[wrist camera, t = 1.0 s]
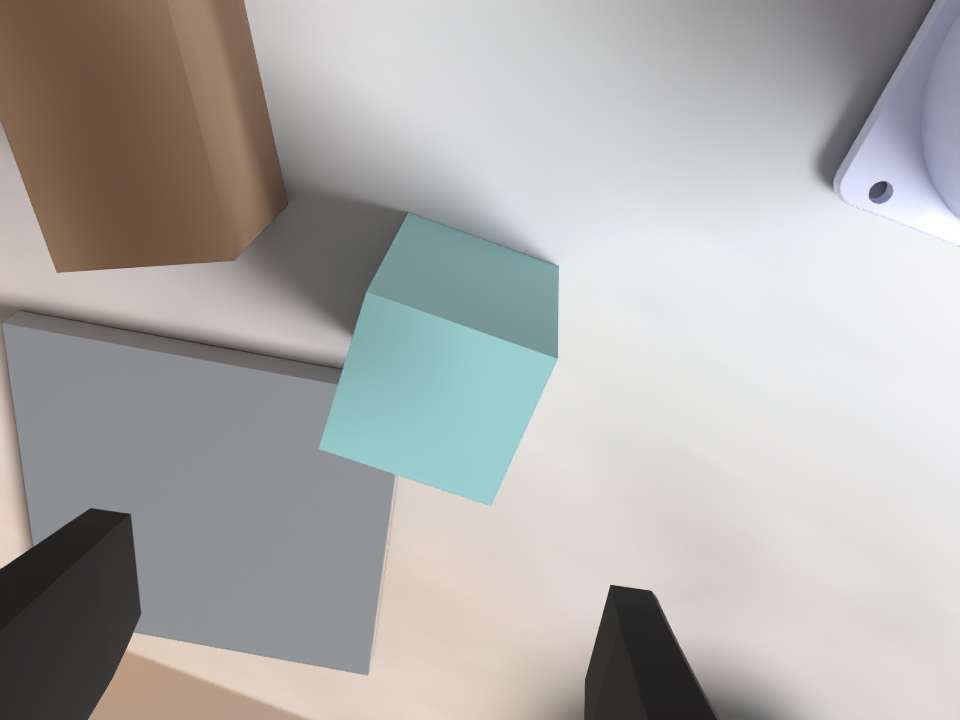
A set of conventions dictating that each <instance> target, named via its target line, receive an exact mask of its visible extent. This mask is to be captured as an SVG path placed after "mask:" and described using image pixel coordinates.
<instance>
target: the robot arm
mask: <svg viewBox="0 0 960 720" xmlns="http://www.w3.org/2000/svg"><path fill="white" fill-rule="evenodd" d="M880 181H886V182H887V189H886V192H885V193H884V194H883V195H882V196H881V197H878V198H876V199H871V198H869V195H868V194H869V191H870V188H871V187H872V186H873V185H874V184H875V183H878V182H880ZM833 184H834V191H835V192H836V194H837V196H838V197H839V198H840V199H841V200H842V201H844V202H845V203H847V204H848V205H851V206H854V207H856V208H859V209H862V210H864V211H867V212H870V213H872V214H875V215H877V216H880V217H883V218H885V219H888V220H891V221H893V222H896V223H898V224H901V225H904V226H906V227H909V228H912V229H914V230H917V231H920V232H922V233H925V234H927V235H930V236H933V237H935V238H938V239H941V240H943V241H946V242H949V243H951V244H954V245H956V246H959V247H960V0H935V2H934V4H933V6H932V7H931V9H930V11H929V13H928V14H927V16H926V18H925V20H924V21H923V23H922V25H921V27H920V28H919V30H918V32H917V34H916V35H915V37H914V39H913V40H912V42H911V44H910V46H909V47H908V49H907V51H906V53H905V54H904V56H903V58H902V60H901V61H900V63H899V65H898V67H897V68H896V70H895V72H894V74H893V75H892V77H891V79H890V81H889V82H888V84H887V86H886V87H885V89H884V91H883V93H882V94H881V96H880V98H879V100H878V101H877V103H876V105H875V107H874V108H873V110H872V112H871V114H870V115H869V117H868V119H867V121H866V122H865V124H864V126H863V127H862V129H861V131H860V133H859V134H858V136H857V138H856V140H855V141H854V143H853V145H852V147H851V148H850V150H849V152H848V154H847V155H846V157H845V159H844V161H843V162H842V164H841V166H840V167H839V169H838V171H837V173H836V175H835V178H834V181H833ZM140 616H141V606H140V596H139V586H138V577H137V567H136V558H135V548H134V539H133V529H132V520H131V514H128V513H121V512H115V511H108V510H101V509H94V508H90V509H89V510H87V511H85V512H84V513H82V514H81V515H79V516H78V517H76V518H75V519H73V520H72V521H70V522H69V523H67V524H66V525H64V526H63V527H62V528H60V529H59V530H57V531H56V532H54V533H53V534H51V535H50V536H48V537H47V538H46V539H44V540H43V541H41V542H40V543H38V544H37V545H35V546H34V547H32V548H31V549H29V550H28V551H27V552H25V553H24V554H22V555H21V556H19V557H18V558H16V559H15V560H13V561H12V562H10V563H9V564H7V565H6V566H4V567H3V568H1V569H0V720H88V718H89V717H90V715H91V713H92V712H93V710H94V708H95V707H96V705H97V703H98V702H99V700H100V698H101V697H102V695H103V693H104V692H105V690H106V688H107V687H108V685H109V683H110V681H111V680H112V678H113V676H114V674H115V671H116V670H117V667H118V665H119V663H120V661H121V658H122V656H123V655H124V652H125V650H126V648H127V646H128V644H129V641H130V639H131V637H132V634H133V632H134V630H135V627H136V625H137V623H138V621H139V618H140ZM584 720H720V719H719V717H718V716H717V714H716V712H715V710H714V709H713V707H712V705H711V703H710V702H709V700H708V698H707V696H706V695H705V693H704V691H703V689H702V688H701V686H700V684H699V682H698V680H697V678H696V676H695V675H694V673H693V671H692V669H691V667H690V665H689V663H688V661H687V659H686V657H685V655H684V653H683V651H682V650H681V648H680V646H679V644H678V642H677V640H676V638H675V635H674V633H673V631H672V629H671V627H670V625H669V623H668V621H667V619H666V617H665V615H664V612H663V610H662V608H661V606H660V604H659V601H658V599H657V597H656V596H655V595H654V593H653V592H652V591H649V590H642V589H635V588H629V587H622V586H615V585H610V589H609V592H608V596H607V600H606V604H605V607H604V611H603V615H602V619H601V622H600V626H599V630H598V634H597V637H596V641H595V645H594V649H593V652H592V656H591V660H590V664H589V667H588V671H587V675H586V679H585V711H584Z"/></svg>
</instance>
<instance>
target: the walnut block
mask: <svg viewBox="0 0 960 720" xmlns="http://www.w3.org/2000/svg"><path fill="white" fill-rule="evenodd" d="M0 120H1V122H2V125H3V128H4V130H5V133H6V136H7V139H8V141H9V144H10V147H11V149H12V152H13V155H14V158H15V160H16V163H17V166H18V168H19V171H20V174H21V177H22V179H23V182H24V185H25V187H26V190H27V193H28V196H29V198H30V201H31V204H32V206H33V209H34V212H35V214H36V217H37V220H38V223H39V225H40V228H41V231H42V233H43V236H44V239H45V242H46V244H47V247H48V250H49V252H50V255H51V258H52V261H53V263H54V266H55V269H56V271H57V273H60V272H75V271H89V270H104V269H119V268H134V267H148V266H163V265H178V264H192V263H207V262H222V261H234V260H235V259H236V258H237V257H238V256H239V255H240V254H241V253H242V252H243V251H244V250H245V249H246V248H247V247H248V246H249V245H250V244H251V243H252V242H253V241H254V240H255V239H256V237H257V236H258V235H259V234H260V233H261V232H262V231H263V230H264V229H265V228H266V227H267V226H268V225H269V224H270V223H271V222H272V221H273V220H274V219H275V218H276V217H277V215H278V214H279V213H280V212H281V211H282V210H283V209H284V208H285V207H286V206H287V205H288V202H287V197H286V193H285V188H284V183H283V179H282V174H281V170H280V165H279V160H278V156H277V151H276V147H275V142H274V137H273V133H272V128H271V124H270V119H269V114H268V110H267V105H266V101H265V96H264V91H263V87H262V82H261V78H260V73H259V68H258V64H257V59H256V55H255V50H254V45H253V41H252V36H251V32H250V27H249V22H248V18H247V13H246V9H245V4H244V0H0Z"/></svg>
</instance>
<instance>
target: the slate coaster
mask: <svg viewBox="0 0 960 720" xmlns="http://www.w3.org/2000/svg"><path fill="white" fill-rule="evenodd" d="M2 327H3V334H4V341H5V348H6V355H7V362H8V370H9V377H10V384H11V391H12V398H13V405H14V412H15V420H16V427H17V434H18V441H19V448H20V455H21V462H22V470H23V477H24V484H25V491H26V498H27V505H28V512H29V520H30V527H31V534H32V541H33V547H34V546H35V545H37V544H38V543H40V542H41V541H43V540H44V539H46V538H47V537H48V536H50V535H51V534H53V533H54V532H56V531H57V530H59V529H60V528H62V527H63V526H64V525H66V524H67V523H69V522H70V521H72V520H73V519H75V518H76V517H78V516H79V515H81V514H82V513H84V512H85V511H87V510H89V509H90V508H94V509H101V510H108V511H115V512H121V513H128V514H131V520H132V529H133V539H134V548H135V558H136V567H137V577H138V586H139V596H140V606H141V616H140V618H139V621H138V623H137V625H136V627H135V630H134V633H140V634H145V635H151V636H156V637H161V638H167V639H172V640H178V641H183V642H189V643H194V644H200V645H205V646H210V647H216V648H221V649H227V650H232V651H238V652H243V653H249V654H254V655H259V656H265V657H270V658H276V659H281V660H287V661H292V662H298V663H303V664H309V665H314V666H319V667H325V668H330V669H336V670H341V671H347V672H352V673H358V674H363V675H368V674H369V670H370V666H371V662H372V658H373V653H374V646H375V638H376V631H377V624H378V616H379V609H380V602H381V595H382V587H383V580H384V573H385V566H386V558H387V551H388V544H389V536H390V529H391V522H392V515H393V507H394V500H395V493H396V486H397V478H398V475H396V474H393V473H390V472H387V471H384V470H381V469H377V468H374V467H371V466H368V465H365V464H362V463H359V462H356V461H353V460H350V459H347V458H344V457H341V456H338V455H335V454H332V453H329V452H326V451H323V450H320V449H319V446H320V443H321V440H322V436H323V433H324V430H325V427H326V423H327V420H328V417H329V413H330V410H331V407H332V403H333V400H334V397H335V393H336V390H337V387H338V383H339V380H340V377H341V374H342V370H340V369H335V368H329V367H324V366H318V365H313V364H308V363H302V362H297V361H291V360H286V359H280V358H275V357H269V356H264V355H258V354H253V353H248V352H242V351H237V350H231V349H226V348H220V347H215V346H209V345H204V344H198V343H193V342H188V341H182V340H177V339H171V338H166V337H160V336H155V335H149V334H144V333H138V332H133V331H128V330H122V329H117V328H111V327H106V326H100V325H95V324H89V323H84V322H78V321H73V320H68V319H62V318H57V317H51V316H46V315H40V314H35V313H29V312H24V311H18V312H17V313H16V314H14V315H13V316H11V317H10V318H9V319H7V320H6V321H4V322H3V323H2Z"/></svg>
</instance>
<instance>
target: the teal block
mask: <svg viewBox="0 0 960 720" xmlns="http://www.w3.org/2000/svg"><path fill="white" fill-rule="evenodd" d="M558 281H559V266H556V265H553V264H551V263H548V262H545V261H542V260H539V259H537V258H534V257H531V256H528V255H526V254H523V253H520V252H517V251H515V250H512V249H509V248H506V247H503V246H501V245H498V244H495V243H492V242H490V241H487V240H484V239H481V238H478V237H476V236H473V235H470V234H467V233H465V232H462V231H459V230H456V229H453V228H451V227H448V226H445V225H442V224H440V223H437V222H434V221H431V220H428V219H426V218H423V217H420V216H417V215H415V214H412V213H409V212H408V214H407V216H406V218H405V220H404V222H403V223H402V225H401V227H400V229H399V231H398V233H397V235H396V237H395V239H394V240H393V242H392V244H391V246H390V248H389V250H388V252H387V254H386V255H385V257H384V259H383V261H382V263H381V265H380V267H379V269H378V271H377V272H376V274H375V276H374V278H373V280H372V282H371V284H370V286H369V287H368V289H367V291H366V294H365V297H364V301H363V304H362V307H361V311H360V314H359V317H358V321H357V324H356V327H355V331H354V334H353V337H352V340H351V344H350V347H349V350H348V354H347V357H346V360H345V364H344V367H343V370H342V374H341V377H340V380H339V383H338V387H337V390H336V393H335V397H334V400H333V403H332V407H331V410H330V413H329V417H328V420H327V423H326V427H325V430H324V433H323V436H322V440H321V443H320V446H319V449H320V450H323V451H326V452H329V453H332V454H335V455H338V456H341V457H344V458H347V459H350V460H353V461H356V462H359V463H362V464H365V465H368V466H371V467H374V468H377V469H381V470H384V471H387V472H390V473H393V474H396V475H399V476H402V477H405V478H408V479H411V480H414V481H417V482H420V483H423V484H426V485H429V486H432V487H435V488H438V489H441V490H444V491H447V492H450V493H453V494H456V495H459V496H462V497H465V498H468V499H471V500H474V501H477V502H480V503H483V504H486V505H489V506H491V505H492V503H493V501H494V498H495V496H496V494H497V492H498V490H499V487H500V485H501V483H502V481H503V479H504V476H505V474H506V472H507V470H508V467H509V465H510V463H511V461H512V459H513V456H514V454H515V452H516V450H517V448H518V445H519V443H520V441H521V439H522V437H523V434H524V432H525V430H526V428H527V425H528V423H529V421H530V419H531V417H532V414H533V412H534V410H535V408H536V406H537V403H538V401H539V399H540V397H541V395H542V392H543V390H544V388H545V386H546V383H547V381H548V379H549V377H550V375H551V372H552V370H553V368H554V366H555V364H556V361H557V359H558Z"/></svg>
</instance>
